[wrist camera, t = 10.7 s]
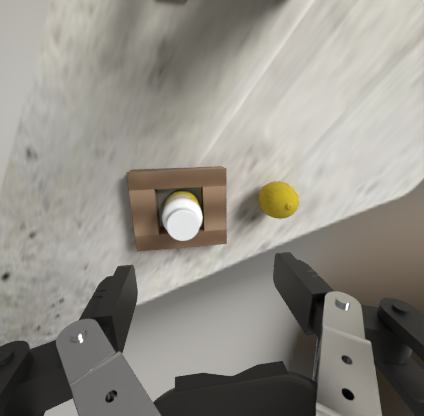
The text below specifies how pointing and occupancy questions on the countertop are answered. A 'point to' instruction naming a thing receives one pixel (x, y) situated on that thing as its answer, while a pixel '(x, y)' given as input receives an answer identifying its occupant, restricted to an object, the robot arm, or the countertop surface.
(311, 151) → the countertop surface
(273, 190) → the lemon
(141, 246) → the block
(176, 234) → the supplement bottle
